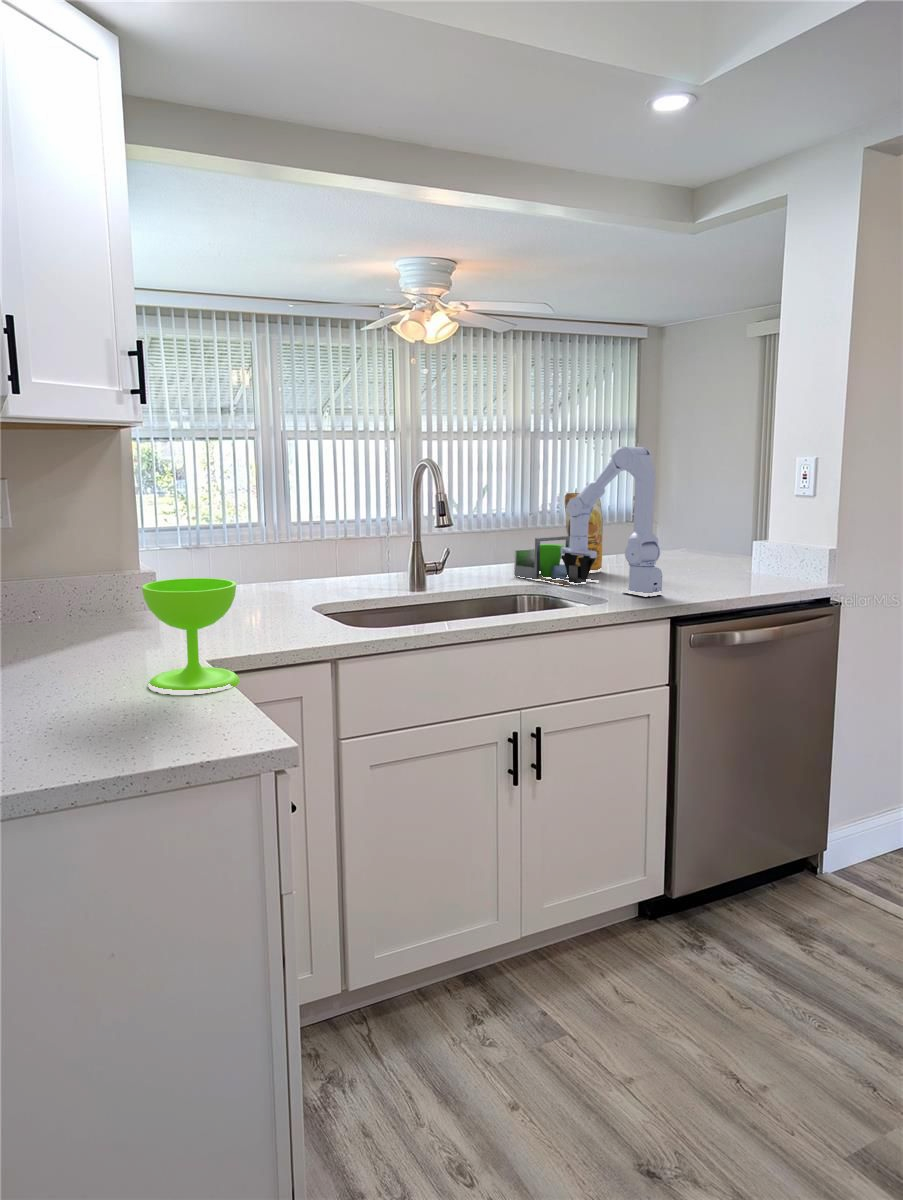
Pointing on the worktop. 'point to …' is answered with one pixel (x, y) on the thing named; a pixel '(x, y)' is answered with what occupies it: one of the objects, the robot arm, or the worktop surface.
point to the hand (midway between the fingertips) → (577, 578)
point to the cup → (549, 558)
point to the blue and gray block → (561, 573)
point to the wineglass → (191, 625)
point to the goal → (532, 558)
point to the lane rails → (559, 581)
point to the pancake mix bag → (590, 530)
